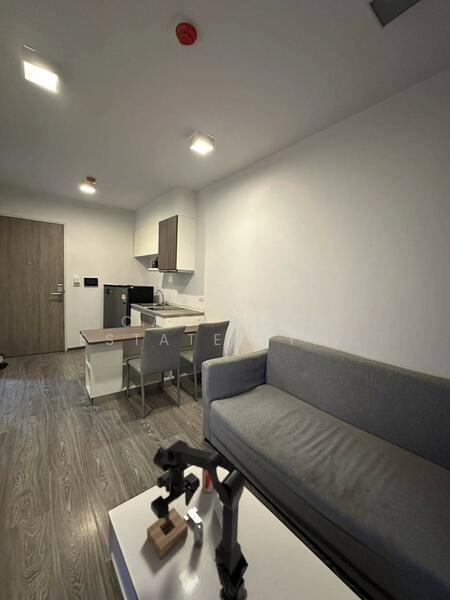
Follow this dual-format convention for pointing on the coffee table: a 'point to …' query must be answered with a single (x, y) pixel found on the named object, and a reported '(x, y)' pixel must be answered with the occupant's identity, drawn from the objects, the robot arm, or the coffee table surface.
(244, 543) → the coffee table surface
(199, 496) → the coffee table surface
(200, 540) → the cylinder
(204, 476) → the soda can
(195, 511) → the grey t-shaped block
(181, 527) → the bore block
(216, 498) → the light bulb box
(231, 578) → the robot arm
